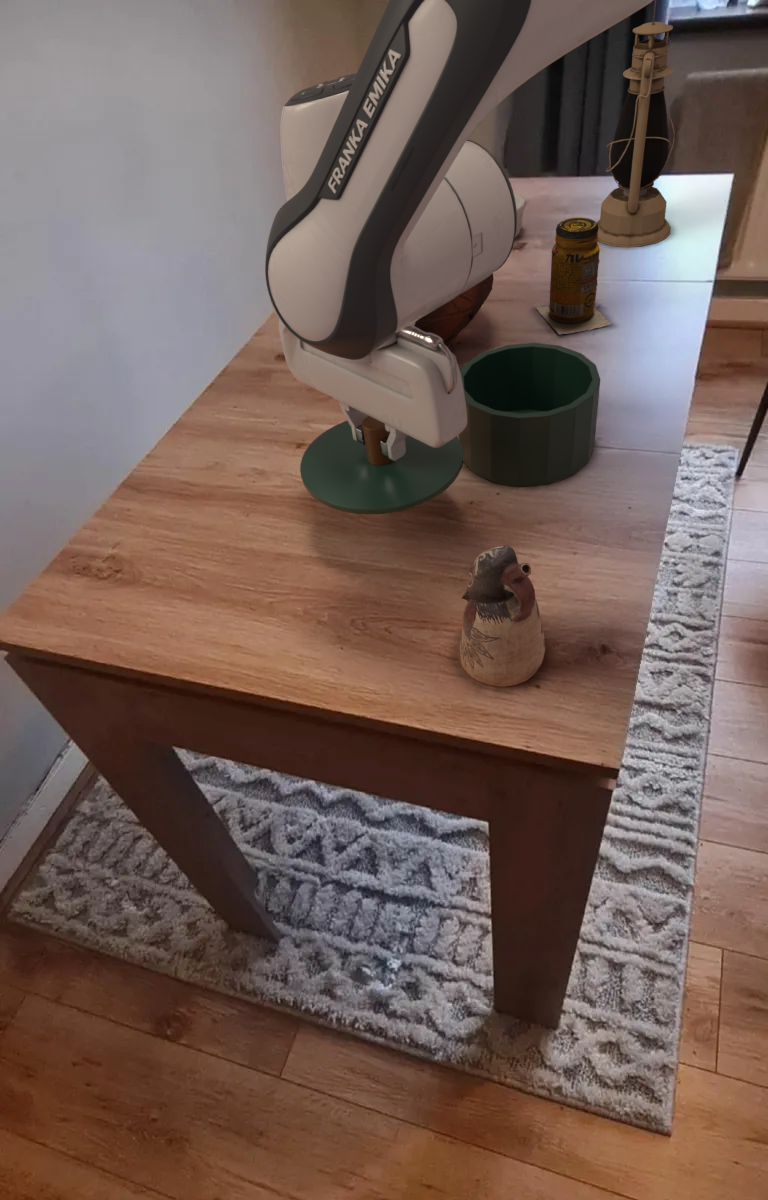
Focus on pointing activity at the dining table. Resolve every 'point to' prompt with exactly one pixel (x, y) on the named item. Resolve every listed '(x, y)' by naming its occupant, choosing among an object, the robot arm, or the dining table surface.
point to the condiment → (574, 278)
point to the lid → (376, 470)
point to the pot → (529, 413)
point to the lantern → (640, 148)
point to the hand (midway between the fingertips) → (379, 447)
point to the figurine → (501, 621)
